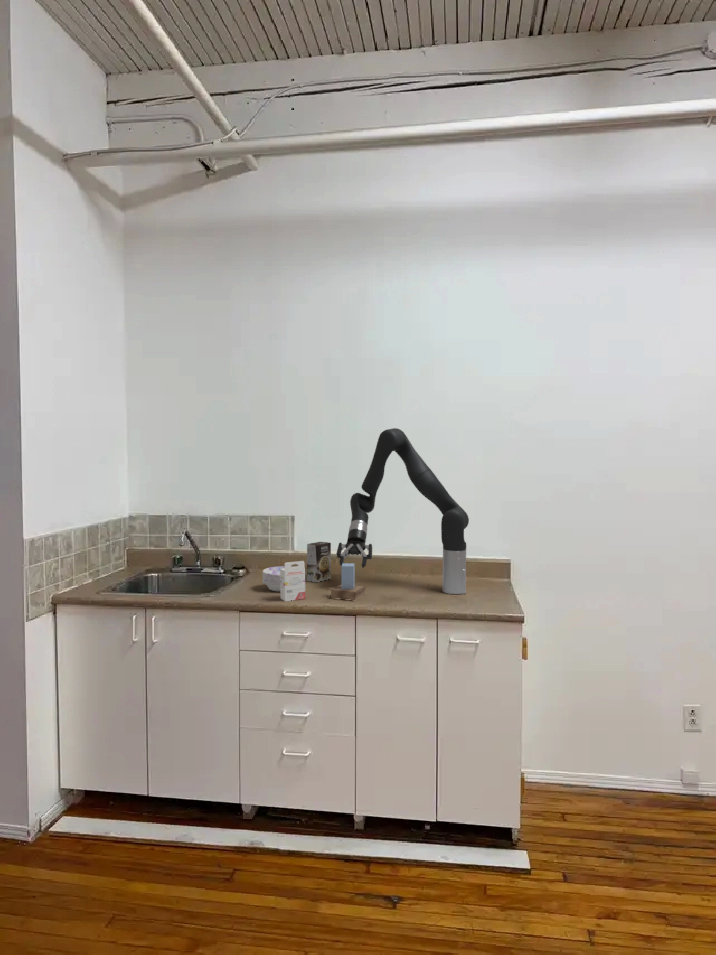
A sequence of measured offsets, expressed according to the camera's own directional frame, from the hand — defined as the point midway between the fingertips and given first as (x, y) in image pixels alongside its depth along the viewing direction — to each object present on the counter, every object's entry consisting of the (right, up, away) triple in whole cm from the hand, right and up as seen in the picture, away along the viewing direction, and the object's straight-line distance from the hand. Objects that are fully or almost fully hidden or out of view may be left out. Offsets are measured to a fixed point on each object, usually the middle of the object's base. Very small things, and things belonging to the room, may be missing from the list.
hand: (352, 566), depth 268 cm
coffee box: (-15, -9, +21) cm, 27 cm away
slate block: (-2, -7, -9) cm, 11 cm away
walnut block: (-2, -11, -9) cm, 14 cm away
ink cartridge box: (-23, -11, -12) cm, 28 cm away
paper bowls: (-29, -10, +4) cm, 31 cm away
